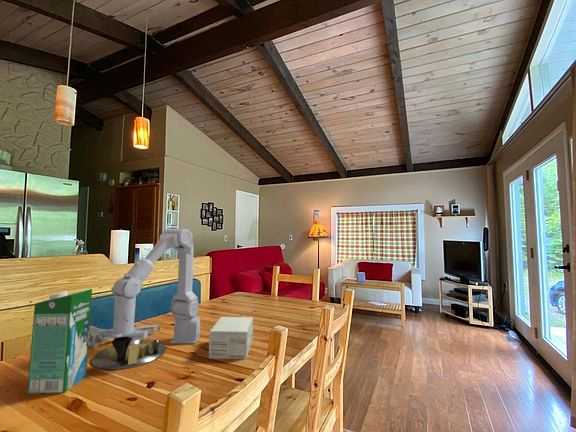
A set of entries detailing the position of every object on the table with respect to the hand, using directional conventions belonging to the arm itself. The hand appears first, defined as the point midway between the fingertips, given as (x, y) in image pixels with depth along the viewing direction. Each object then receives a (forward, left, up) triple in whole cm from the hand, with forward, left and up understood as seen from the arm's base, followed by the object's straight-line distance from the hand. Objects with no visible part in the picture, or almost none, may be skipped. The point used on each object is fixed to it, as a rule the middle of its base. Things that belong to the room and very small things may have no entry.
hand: (121, 361), depth 87 cm
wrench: (+10, -22, -2) cm, 24 cm away
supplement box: (-33, -13, -2) cm, 35 cm away
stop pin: (-7, -8, -2) cm, 11 cm away
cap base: (+1, -9, -2) cm, 9 cm away
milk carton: (+11, +10, -2) cm, 15 cm away
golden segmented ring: (0, -7, -1) cm, 7 cm away
